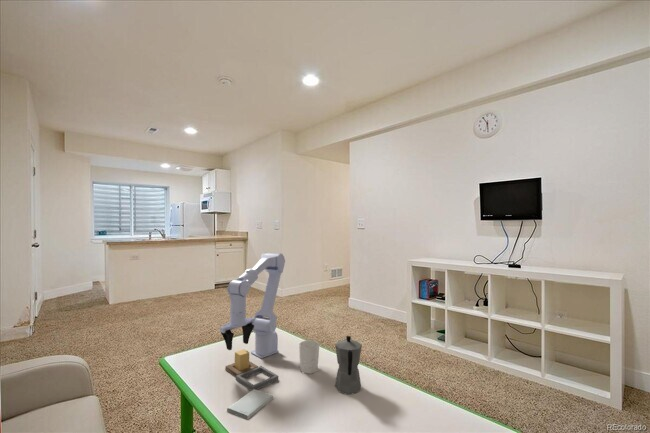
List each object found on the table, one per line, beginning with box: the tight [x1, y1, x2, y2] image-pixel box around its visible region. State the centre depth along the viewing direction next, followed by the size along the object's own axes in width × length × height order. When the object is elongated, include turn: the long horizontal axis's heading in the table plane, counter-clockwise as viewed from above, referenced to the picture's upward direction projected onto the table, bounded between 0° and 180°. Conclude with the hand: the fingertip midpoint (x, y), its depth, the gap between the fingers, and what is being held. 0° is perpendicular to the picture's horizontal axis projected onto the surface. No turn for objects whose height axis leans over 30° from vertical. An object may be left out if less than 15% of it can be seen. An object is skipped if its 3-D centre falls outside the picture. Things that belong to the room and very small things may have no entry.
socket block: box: [224, 360, 259, 378], centre depth 121 cm, size 9×9×2 cm
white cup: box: [298, 340, 320, 374], centre depth 123 cm, size 8×8×10 cm
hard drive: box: [226, 389, 274, 420], centre depth 99 cm, size 2×8×12 cm
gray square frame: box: [235, 365, 279, 392], centre depth 114 cm, size 11×11×2 cm
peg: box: [234, 348, 250, 371], centre depth 121 cm, size 4×4×7 cm
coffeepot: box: [334, 335, 363, 395], centre depth 109 cm, size 15×9×18 cm, turn 179°
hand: (237, 346), depth 121 cm, fingers open, 7 cm apart
